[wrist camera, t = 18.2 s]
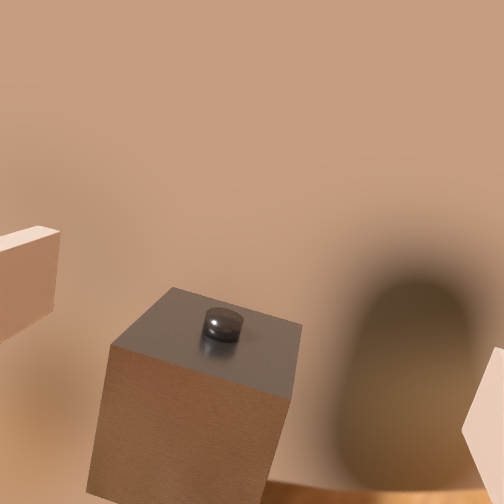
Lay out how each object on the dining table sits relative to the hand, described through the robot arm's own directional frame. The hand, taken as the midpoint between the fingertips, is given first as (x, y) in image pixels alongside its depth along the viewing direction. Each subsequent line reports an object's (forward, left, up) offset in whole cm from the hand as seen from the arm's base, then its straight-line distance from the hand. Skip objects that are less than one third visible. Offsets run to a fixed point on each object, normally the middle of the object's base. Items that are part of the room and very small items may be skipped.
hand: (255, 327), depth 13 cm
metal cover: (-12, -7, -17) cm, 22 cm away
